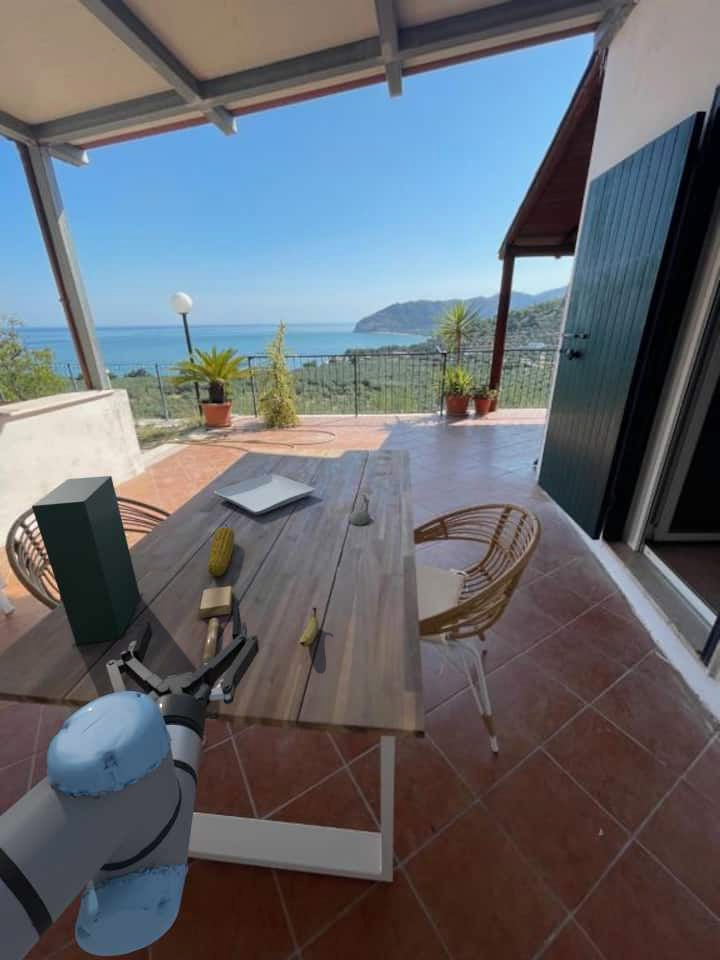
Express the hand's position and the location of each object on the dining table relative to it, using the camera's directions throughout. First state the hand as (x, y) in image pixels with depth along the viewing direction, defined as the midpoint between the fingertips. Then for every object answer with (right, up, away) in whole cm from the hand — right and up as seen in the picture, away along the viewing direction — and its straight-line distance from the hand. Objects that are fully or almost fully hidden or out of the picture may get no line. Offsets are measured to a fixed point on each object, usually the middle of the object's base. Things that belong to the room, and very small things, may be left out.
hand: (194, 620), depth 63 cm
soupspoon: (+28, +12, +72) cm, 78 cm away
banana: (+17, -9, +14) cm, 24 cm away
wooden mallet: (-3, -8, +17) cm, 19 cm away
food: (-10, +1, +43) cm, 44 cm away
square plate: (-8, +16, +83) cm, 85 cm away
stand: (-27, -7, +21) cm, 35 cm away
